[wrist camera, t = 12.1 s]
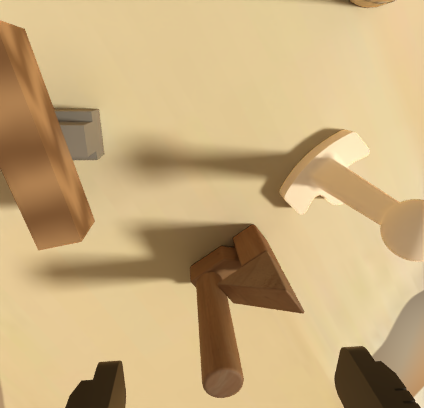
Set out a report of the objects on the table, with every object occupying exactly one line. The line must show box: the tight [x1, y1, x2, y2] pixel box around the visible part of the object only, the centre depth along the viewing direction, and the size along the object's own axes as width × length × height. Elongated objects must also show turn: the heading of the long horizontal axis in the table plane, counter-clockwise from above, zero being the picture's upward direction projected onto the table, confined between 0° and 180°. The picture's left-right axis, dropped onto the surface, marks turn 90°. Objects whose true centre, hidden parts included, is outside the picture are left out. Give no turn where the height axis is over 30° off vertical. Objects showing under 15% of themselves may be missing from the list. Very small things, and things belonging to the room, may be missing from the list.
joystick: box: [279, 130, 424, 261], centre depth 30 cm, size 11×8×20 cm
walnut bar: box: [0, 21, 95, 250], centre depth 27 cm, size 18×4×4 cm, turn 10°
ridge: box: [54, 109, 104, 160], centre depth 31 cm, size 5×8×6 cm, turn 89°
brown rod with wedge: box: [190, 224, 304, 398], centre depth 34 cm, size 4×11×18 cm, turn 126°
